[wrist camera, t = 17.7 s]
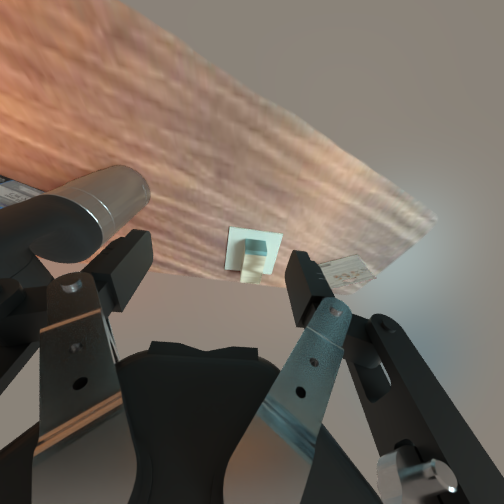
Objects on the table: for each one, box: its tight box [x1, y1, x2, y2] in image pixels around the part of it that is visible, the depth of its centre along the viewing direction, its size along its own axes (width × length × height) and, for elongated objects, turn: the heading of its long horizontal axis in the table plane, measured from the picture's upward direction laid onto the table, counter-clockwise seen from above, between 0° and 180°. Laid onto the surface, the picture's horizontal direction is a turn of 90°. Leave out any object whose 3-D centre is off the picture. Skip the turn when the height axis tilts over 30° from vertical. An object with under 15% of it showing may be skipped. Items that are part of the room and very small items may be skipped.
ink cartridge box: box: [318, 255, 376, 289], centre depth 51 cm, size 2×11×10 cm, turn 108°
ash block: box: [240, 238, 267, 284], centre depth 50 cm, size 5×5×10 cm
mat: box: [225, 226, 283, 274], centre depth 52 cm, size 13×13×1 cm
